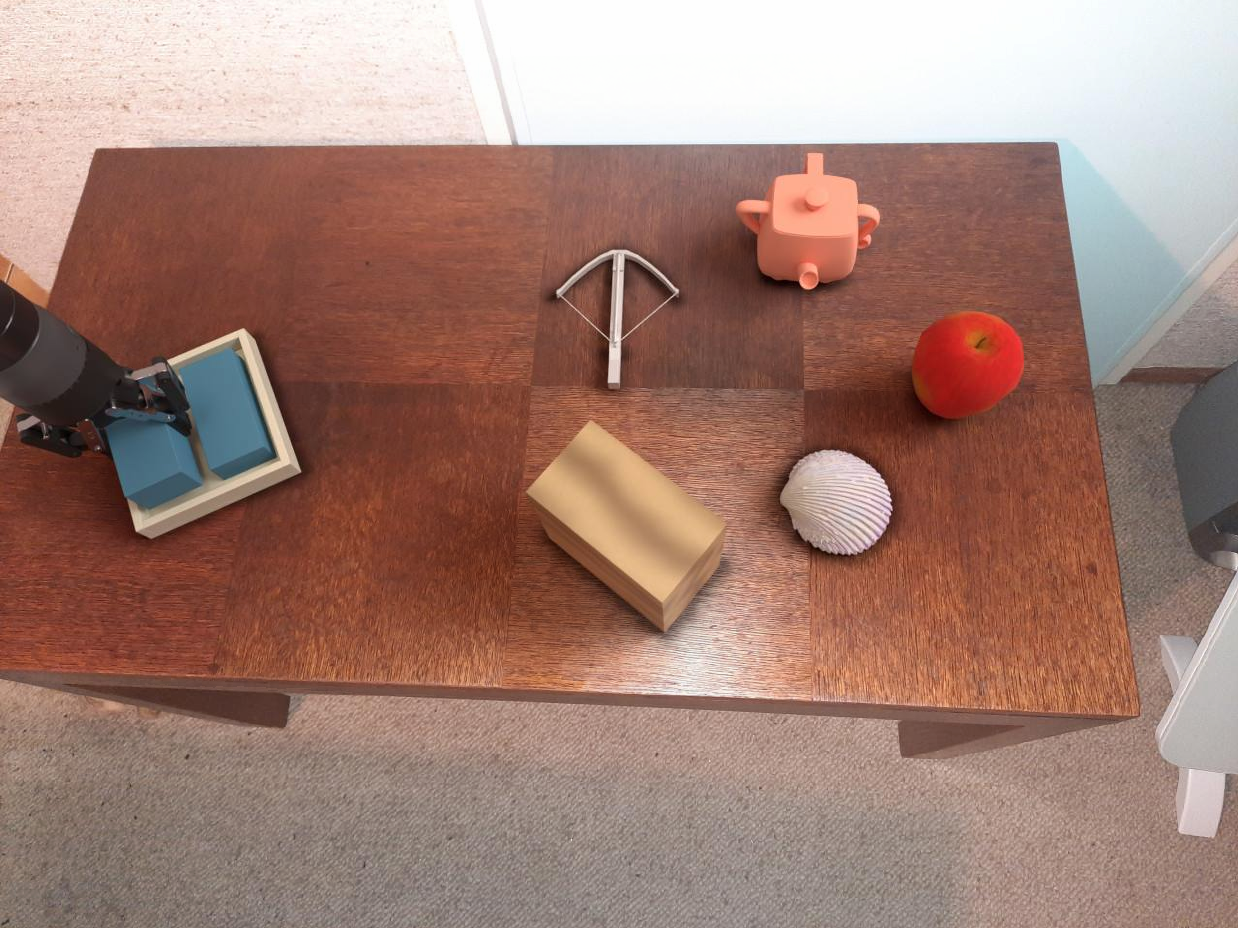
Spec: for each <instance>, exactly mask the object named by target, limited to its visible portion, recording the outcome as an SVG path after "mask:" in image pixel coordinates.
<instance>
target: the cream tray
mask: <svg viewBox="0 0 1238 928" xmlns="http://www.w3.org/2000/svg"><path fill="white" fill-rule="evenodd" d="M228 348H232V349H233V350H234V351H235V352H236V353H237V354H238V355H239V356H240V357H241V358H242V359H243V360H244V361H245V364H246V367H247V370H248V373H249V376H250V379H251V382H252V385H253V388H254V390H255V393H256V396H257V399H258V402H259V405H260V408H261V411H262V414H263V417H264V420H265V423H266V426H267V429H268V432H269V435H270V437H271V440H272V443H273V446H274V449H275V452H276V455H277V458H274V459H272V460H270V461H267V462H265V463H263V464H261V465H258V466H256V467H254V468H252V469H249V470H247V471H245V472H242V473H240V474H238V475H236V476H233V477H231V478H229V479H227V480H224V479H223V478H221V477H220V476H218V475H217V474H215V473H214V472H212V471H211V470H210V469H209V466H208V463H207V459H206V456H205V453H204V449H203V446H202V443H201V440H200V436H199V433H198V430H197V427H196V423H195V420H194V417H193V414H192V410H191V407H190V409H189V410H187V411H185V412H186V413H188V415H189V418H190V422H191V425H192V429H190V432H191V435H189V436H187V437H188V440H189V443H190V446H191V449H192V452H193V455H194V458H195V461H196V464H197V467H198V471H199V474H200V477H201V480H202V483H203V485H202V486H200V487H198V488H196V489H194V490H191V491H189V492H187V493H185V494H183V495H181V496H178V497H176V498H174V499H172V500H170V501H168V502H165V503H163V504H161V505H159V506H157V507H155V508H152V509H150V510H149V509H147V508H145V507H143V506H141V505H139V504H137V503H135V502H133V501H131V500H129V499H128V498H126V499H127V504H128V507H129V511H130V515H131V518H132V522H133V526H134V530H135V532H136V533H138V534H140V535H142V536H144V537H146V538H148V539H150V540H152V539H154V538H157V537H159V536H161V535H163V534H166V533H169V532H170V531H172V530H175V529H177V528H179V527H181V526H184V525H186V524H189V523H190V522H193V521H195V520H198V519H199V518H202V517H205V516H206V515H209V514H211V513H213V512H215V511H218V510H219V509H222V508H224V507H227V506H230V505H231V504H233V503H236V502H238V501H240V500H242V499H245V498H247V497H249V496H252V495H253V494H256V493H258V492H260V491H263V490H265V489H267V488H270V487H272V486H274V485H276V484H279V483H281V482H283V481H286V480H288V479H290V478H292V477H294V476H296V475H299V474H301V473H302V470H301V467H300V464H299V461H298V459H297V455H296V453H295V450H294V447H293V445H292V442H291V438H290V436H289V433H288V431H287V427H286V425H285V422H284V419H283V416H282V413H281V410H280V408H279V404H278V401H277V398H276V396H275V393H274V389H273V387H272V384H271V382H270V379H269V376H268V373H267V371H266V367H265V364H264V361H263V358H262V356H261V353H260V350H259V347H258V345H257V342H256V339H255V338H254V337H253V336H252V335H251V334H250V333H249V332H248V330H246V329H245V328H243V327H242V328H240V329H238V330H236V331H233V332H230V333H228V334H226V335H224V336H221V337H218V338H217V339H214V340H211V341H210V342H207V343H204V344H203V345H202V344H201V345H200V346H197V347H195V348H193V349H191V350H188V351H186V352H184V353H181V354H179V355H176V356H173V358H169V359H166V360H167V361H168V363H169V364H170V366H171V367H172V369H173V370H174V372H175V373H176V375H177V376H178V378H179V379H180V381H181V382H182V384H183V381H182V378H181V375H180V371H179V369H181V368H183V367H186V366H188V365H190V364H193V363H195V362H197V361H200V360H202V359H204V358H207V357H209V356H211V355H214V354H216V353H218V352H221V351H223V350H225V349H228ZM183 385H184V384H183ZM185 393H186V391H185ZM186 397H187V394H186ZM187 400H188V397H187ZM188 402H189V401H188ZM189 405H190V404H189Z"/></svg>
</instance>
